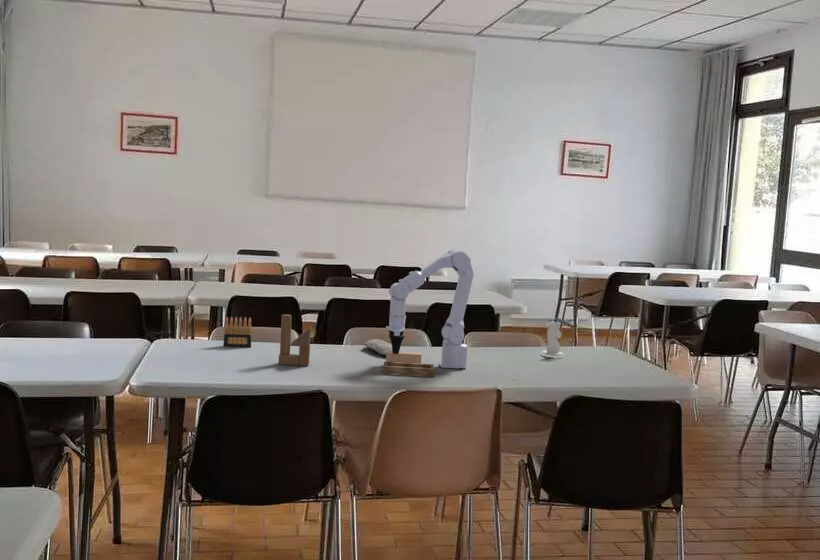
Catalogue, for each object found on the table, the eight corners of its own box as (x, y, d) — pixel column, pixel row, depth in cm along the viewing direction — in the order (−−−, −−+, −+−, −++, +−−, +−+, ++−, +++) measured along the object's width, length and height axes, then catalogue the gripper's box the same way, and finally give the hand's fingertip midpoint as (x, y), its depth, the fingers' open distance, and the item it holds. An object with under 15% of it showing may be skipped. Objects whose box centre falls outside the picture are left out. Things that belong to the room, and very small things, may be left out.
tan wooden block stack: (308, 366, 291) (310, 317, 289) (278, 365, 290) (280, 315, 288) (309, 364, 294) (311, 315, 292) (279, 362, 294) (281, 313, 292)
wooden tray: (432, 371, 295) (433, 364, 295) (434, 377, 287) (434, 369, 287) (383, 369, 294) (384, 361, 294) (383, 374, 286) (384, 366, 286)
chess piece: (569, 357, 340) (572, 322, 338) (553, 359, 334) (556, 323, 332) (551, 353, 348) (554, 318, 346) (535, 355, 341) (538, 319, 340)
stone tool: (386, 335, 338) (405, 346, 315) (385, 347, 339) (404, 359, 315) (359, 335, 334) (377, 346, 311) (358, 347, 335) (376, 359, 311)
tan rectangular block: (420, 367, 303) (421, 352, 303) (420, 369, 299) (421, 354, 299) (385, 364, 303) (386, 350, 302) (385, 367, 299) (386, 352, 298)
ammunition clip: (223, 346, 316) (224, 316, 315) (223, 345, 318) (224, 315, 317) (251, 347, 318) (252, 317, 317) (251, 346, 320) (252, 316, 319)
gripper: (386, 312, 306) (384, 347, 307) (386, 318, 292) (384, 355, 293) (405, 313, 306) (403, 348, 308) (406, 319, 292) (404, 355, 293)
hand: (395, 351), depth 300 cm, fingers open, 7 cm apart
